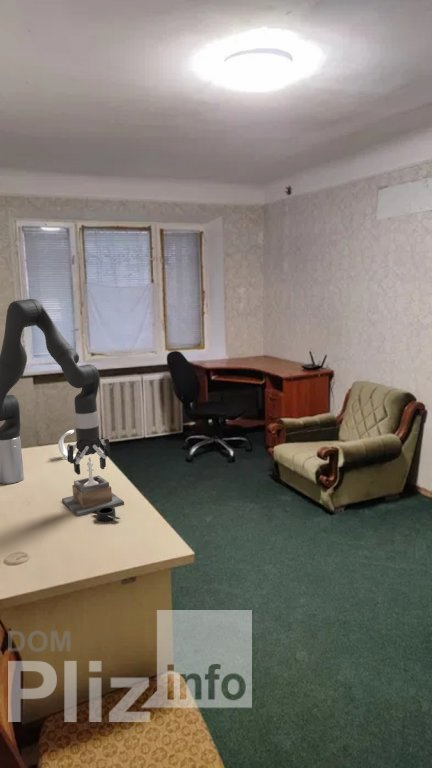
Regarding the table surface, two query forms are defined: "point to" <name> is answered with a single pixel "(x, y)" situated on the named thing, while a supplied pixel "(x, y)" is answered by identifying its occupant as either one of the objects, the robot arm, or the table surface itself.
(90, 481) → the chess piece
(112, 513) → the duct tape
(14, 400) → the robot arm
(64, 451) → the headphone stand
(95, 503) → the pedestal
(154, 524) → the table surface
